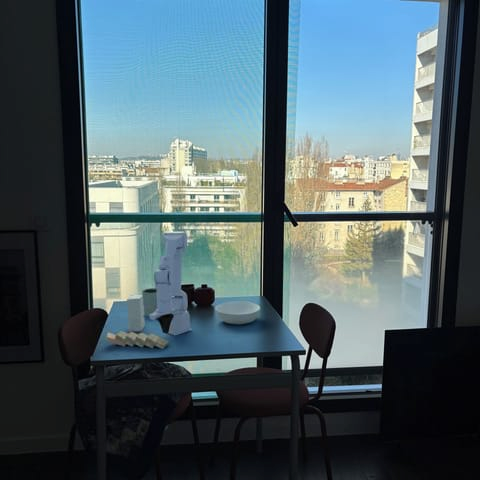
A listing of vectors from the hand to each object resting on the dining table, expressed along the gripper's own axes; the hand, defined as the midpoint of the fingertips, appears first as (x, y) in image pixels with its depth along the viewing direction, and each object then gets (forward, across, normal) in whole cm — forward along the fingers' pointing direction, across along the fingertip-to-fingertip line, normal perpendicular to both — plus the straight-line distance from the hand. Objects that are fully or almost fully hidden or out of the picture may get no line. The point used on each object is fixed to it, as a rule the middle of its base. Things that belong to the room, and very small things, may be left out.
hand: (165, 332), depth 185 cm
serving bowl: (+6, -42, +5) cm, 43 cm away
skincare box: (+6, -9, -27) cm, 29 cm away
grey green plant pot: (+6, -30, -38) cm, 48 cm away
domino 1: (+5, +5, -12) cm, 14 cm away
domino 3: (+5, +2, -4) cm, 7 cm away
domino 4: (+5, 0, 0) cm, 5 cm away
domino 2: (+5, +3, -8) cm, 10 cm away
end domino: (+5, +7, -16) cm, 18 cm away
